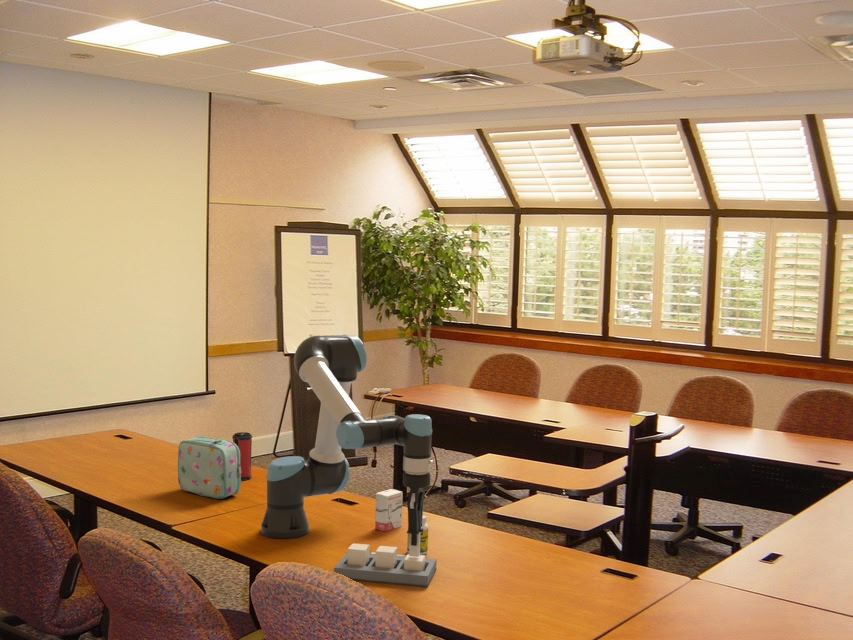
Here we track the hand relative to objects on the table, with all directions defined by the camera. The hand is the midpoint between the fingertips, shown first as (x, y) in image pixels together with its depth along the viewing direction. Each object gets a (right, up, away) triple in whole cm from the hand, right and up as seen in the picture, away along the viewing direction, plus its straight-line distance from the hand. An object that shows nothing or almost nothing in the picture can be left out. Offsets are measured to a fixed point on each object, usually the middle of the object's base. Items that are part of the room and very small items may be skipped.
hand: (414, 555), depth 236 cm
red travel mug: (-70, +2, +104) cm, 126 cm away
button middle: (-8, -3, +1) cm, 9 cm away
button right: (0, -5, 0) cm, 5 cm away
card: (-8, -5, +14) cm, 17 cm away
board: (-8, -6, +2) cm, 10 cm away
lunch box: (-77, 0, +80) cm, 111 cm away
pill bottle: (+1, -5, +20) cm, 21 cm away
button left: (-16, -3, +3) cm, 16 cm away
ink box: (-9, -3, +45) cm, 46 cm away
